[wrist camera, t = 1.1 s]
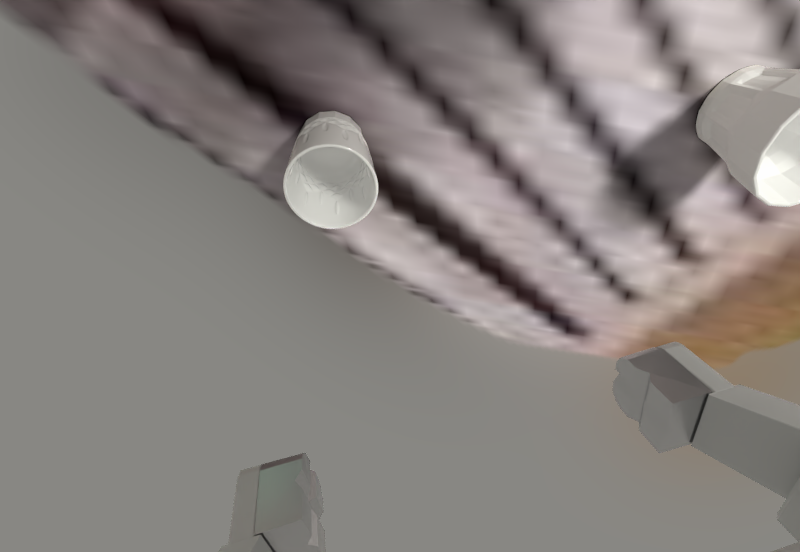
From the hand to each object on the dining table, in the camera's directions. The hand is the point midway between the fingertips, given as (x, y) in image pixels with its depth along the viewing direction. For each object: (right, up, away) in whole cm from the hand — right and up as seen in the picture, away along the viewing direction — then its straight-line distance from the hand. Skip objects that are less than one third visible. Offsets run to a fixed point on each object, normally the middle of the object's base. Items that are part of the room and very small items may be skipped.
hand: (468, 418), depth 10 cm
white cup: (-9, +17, +32) cm, 37 cm away
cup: (+35, +22, +35) cm, 54 cm away
